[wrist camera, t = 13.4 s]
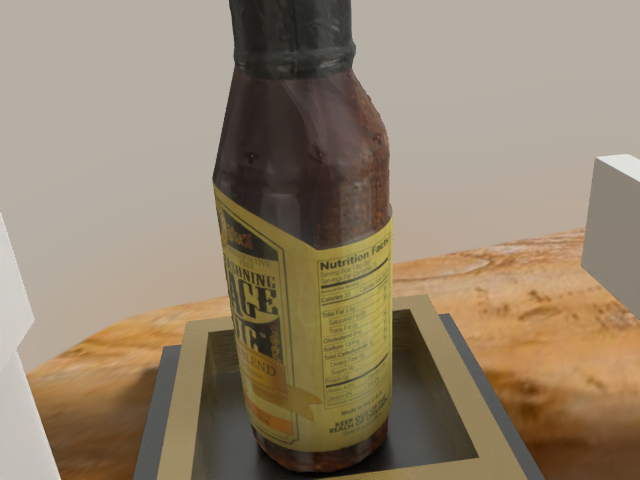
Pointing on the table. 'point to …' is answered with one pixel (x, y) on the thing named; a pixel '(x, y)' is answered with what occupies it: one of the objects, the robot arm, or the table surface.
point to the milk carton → (22, 429)
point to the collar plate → (404, 417)
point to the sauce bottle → (306, 235)
